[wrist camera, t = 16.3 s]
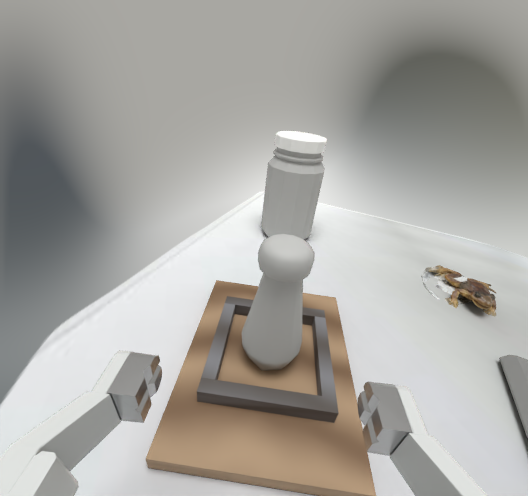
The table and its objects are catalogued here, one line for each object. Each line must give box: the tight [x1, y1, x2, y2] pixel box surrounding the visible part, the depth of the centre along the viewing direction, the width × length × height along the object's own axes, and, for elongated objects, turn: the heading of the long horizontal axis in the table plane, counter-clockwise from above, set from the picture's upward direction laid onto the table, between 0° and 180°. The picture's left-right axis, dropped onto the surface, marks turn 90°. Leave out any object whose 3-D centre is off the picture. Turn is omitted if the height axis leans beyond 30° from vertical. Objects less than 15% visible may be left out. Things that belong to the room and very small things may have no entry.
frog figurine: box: [421, 266, 496, 316], centre depth 41 cm, size 12×12×4 cm
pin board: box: [146, 280, 376, 496], centre depth 27 cm, size 20×16×3 cm
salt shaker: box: [242, 234, 314, 371], centre depth 23 cm, size 6×6×13 cm
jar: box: [261, 131, 327, 240], centre depth 48 cm, size 10×10×18 cm
